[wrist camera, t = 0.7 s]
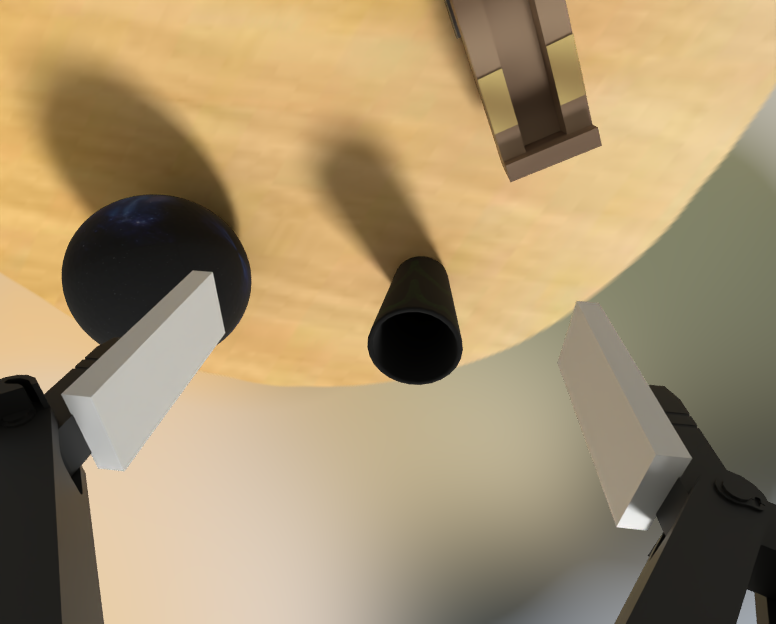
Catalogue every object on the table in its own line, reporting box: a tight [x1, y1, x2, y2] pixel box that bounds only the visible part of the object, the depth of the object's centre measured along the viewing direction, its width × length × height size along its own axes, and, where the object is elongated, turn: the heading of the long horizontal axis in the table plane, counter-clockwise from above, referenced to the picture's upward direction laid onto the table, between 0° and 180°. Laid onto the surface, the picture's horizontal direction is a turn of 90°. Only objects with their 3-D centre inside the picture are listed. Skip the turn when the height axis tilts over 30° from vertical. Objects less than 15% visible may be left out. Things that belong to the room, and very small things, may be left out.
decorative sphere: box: [62, 195, 251, 345], centre depth 40 cm, size 15×15×15 cm
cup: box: [367, 257, 463, 385], centre depth 40 cm, size 8×8×12 cm
